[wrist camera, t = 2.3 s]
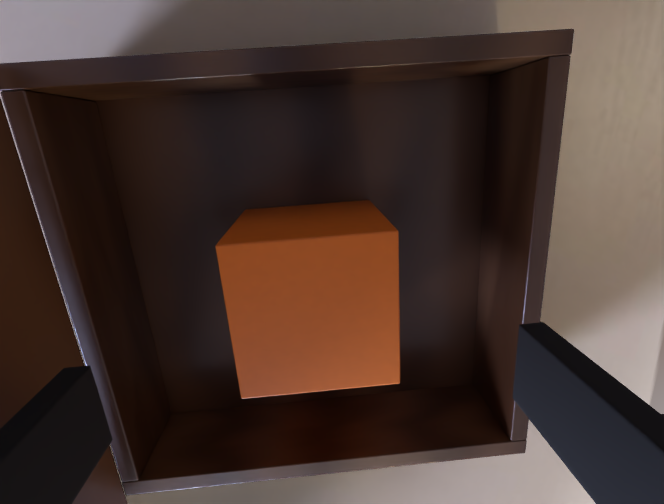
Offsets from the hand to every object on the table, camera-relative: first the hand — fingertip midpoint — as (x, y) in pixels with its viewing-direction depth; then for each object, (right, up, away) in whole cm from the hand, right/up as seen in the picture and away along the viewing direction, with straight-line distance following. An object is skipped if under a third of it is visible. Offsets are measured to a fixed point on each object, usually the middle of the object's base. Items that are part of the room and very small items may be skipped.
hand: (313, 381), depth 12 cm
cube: (-1, +3, +10) cm, 11 cm away
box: (-1, +4, +11) cm, 12 cm away
